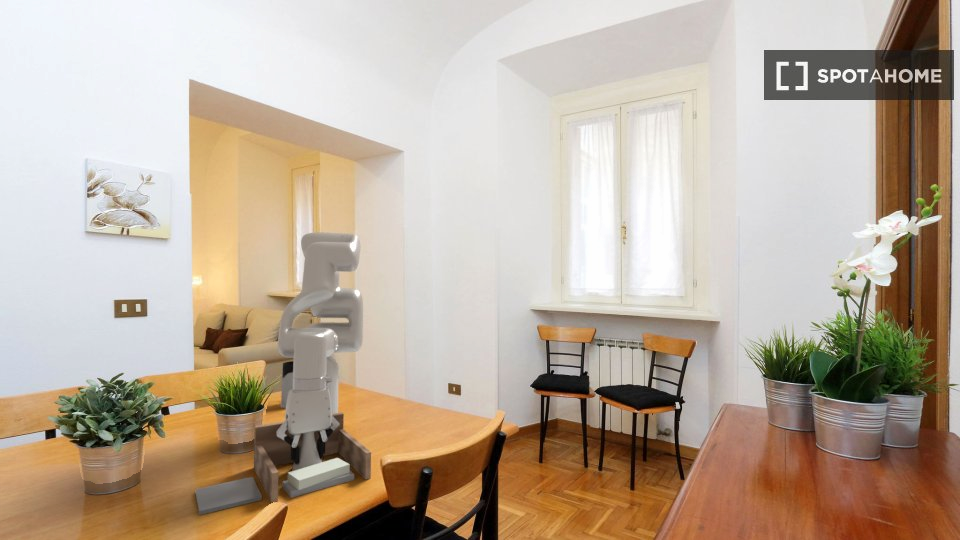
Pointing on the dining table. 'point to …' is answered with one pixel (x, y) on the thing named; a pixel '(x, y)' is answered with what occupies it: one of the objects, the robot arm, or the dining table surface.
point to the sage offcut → (318, 473)
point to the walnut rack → (279, 451)
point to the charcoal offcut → (316, 485)
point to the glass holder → (286, 382)
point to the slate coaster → (227, 495)
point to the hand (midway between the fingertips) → (308, 458)
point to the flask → (307, 452)
